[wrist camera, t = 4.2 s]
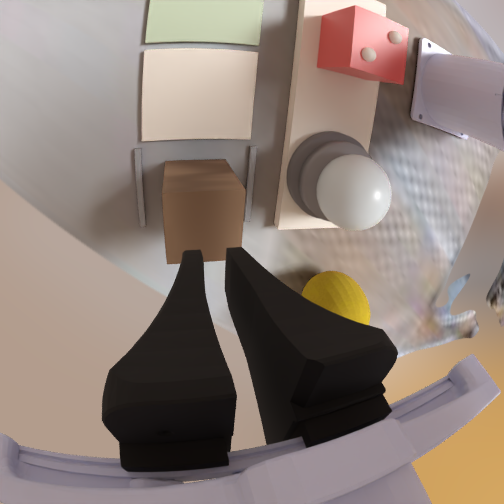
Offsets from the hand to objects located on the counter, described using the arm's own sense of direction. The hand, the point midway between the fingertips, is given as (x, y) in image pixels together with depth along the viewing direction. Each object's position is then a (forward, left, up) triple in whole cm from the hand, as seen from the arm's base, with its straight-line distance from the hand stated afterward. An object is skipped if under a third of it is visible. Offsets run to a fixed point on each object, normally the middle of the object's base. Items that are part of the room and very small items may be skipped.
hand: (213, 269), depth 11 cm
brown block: (0, 0, -10) cm, 10 cm away
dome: (-9, -2, -7) cm, 12 cm away
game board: (-4, -7, -9) cm, 12 cm away
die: (-9, -11, -8) cm, 17 cm away
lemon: (-11, +9, -10) cm, 17 cm away
